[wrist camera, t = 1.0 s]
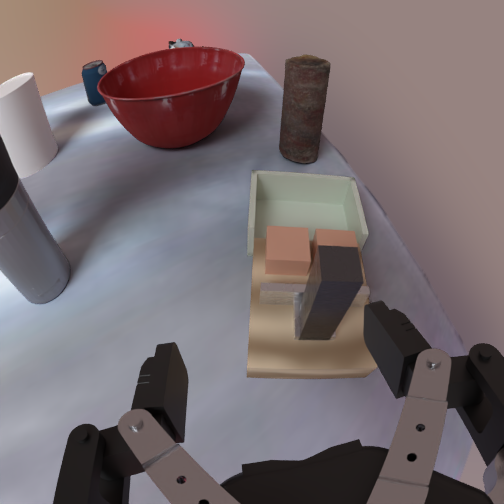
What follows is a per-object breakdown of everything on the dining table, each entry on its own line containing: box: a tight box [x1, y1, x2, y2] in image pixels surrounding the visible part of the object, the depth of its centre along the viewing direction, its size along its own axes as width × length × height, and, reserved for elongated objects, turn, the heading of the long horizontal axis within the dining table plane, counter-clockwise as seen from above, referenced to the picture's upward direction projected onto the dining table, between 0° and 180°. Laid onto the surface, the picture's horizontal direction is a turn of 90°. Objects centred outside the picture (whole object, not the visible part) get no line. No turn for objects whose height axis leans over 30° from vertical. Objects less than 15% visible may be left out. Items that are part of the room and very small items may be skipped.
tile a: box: [265, 226, 311, 276], centre depth 39 cm, size 5×5×3 cm
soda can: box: [82, 60, 107, 106], centre depth 71 cm, size 7×7×12 cm
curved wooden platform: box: [247, 238, 377, 379], centre depth 38 cm, size 17×14×4 cm
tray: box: [247, 170, 369, 256], centre depth 46 cm, size 11×16×6 cm
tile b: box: [312, 229, 361, 263], centre depth 39 cm, size 5×5×3 cm
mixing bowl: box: [97, 47, 245, 148], centre depth 58 cm, size 28×28×16 cm
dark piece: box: [259, 245, 370, 340], centre depth 30 cm, size 5×12×12 cm, turn 88°
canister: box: [0, 72, 58, 179], centre depth 52 cm, size 14×14×20 cm
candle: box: [279, 55, 330, 163], centre depth 52 cm, size 8×7×20 cm
